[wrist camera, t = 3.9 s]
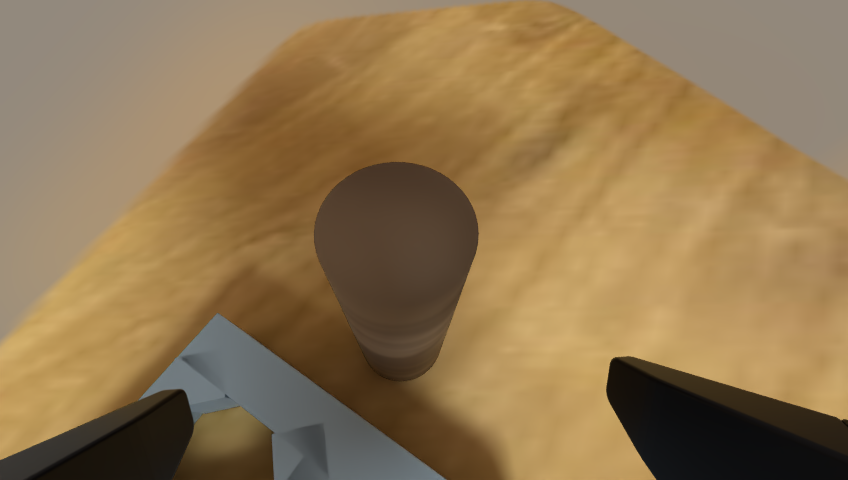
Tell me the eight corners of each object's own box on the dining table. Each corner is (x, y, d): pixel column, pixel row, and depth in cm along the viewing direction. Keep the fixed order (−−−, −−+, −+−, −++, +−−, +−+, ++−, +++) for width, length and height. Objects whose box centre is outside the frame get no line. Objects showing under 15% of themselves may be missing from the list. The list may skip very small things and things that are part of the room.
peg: (412, 397, 20) (421, 342, 9) (345, 351, 20) (278, 248, 10) (455, 328, 21) (507, 209, 10) (391, 287, 22) (378, 138, 11)
